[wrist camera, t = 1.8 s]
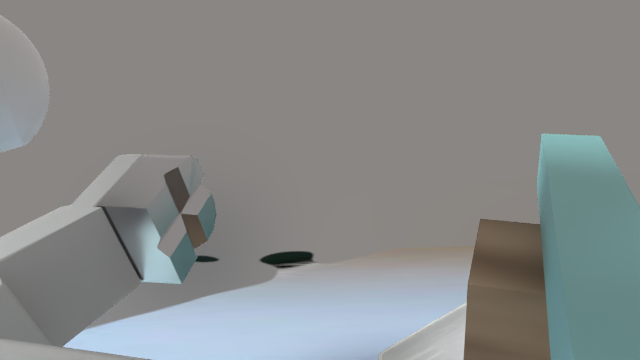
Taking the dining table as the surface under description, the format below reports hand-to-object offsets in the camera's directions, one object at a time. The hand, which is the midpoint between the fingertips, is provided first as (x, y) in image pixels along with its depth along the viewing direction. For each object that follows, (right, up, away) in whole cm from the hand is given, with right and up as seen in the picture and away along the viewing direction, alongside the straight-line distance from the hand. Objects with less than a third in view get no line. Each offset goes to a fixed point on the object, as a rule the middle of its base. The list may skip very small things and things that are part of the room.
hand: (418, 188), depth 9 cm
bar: (+11, -4, +16) cm, 19 cm away
